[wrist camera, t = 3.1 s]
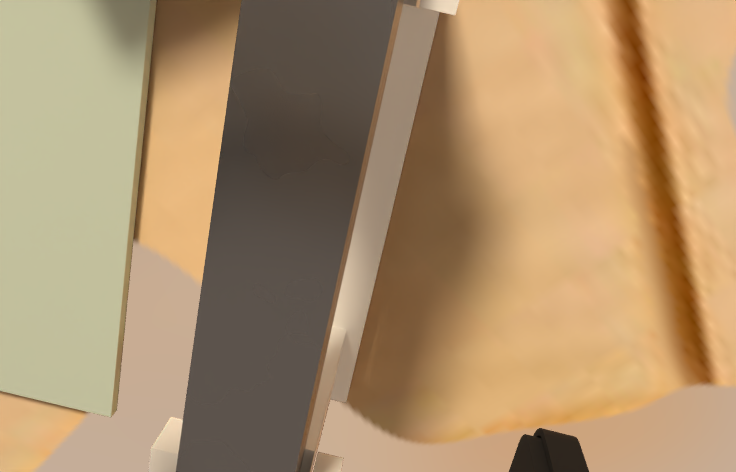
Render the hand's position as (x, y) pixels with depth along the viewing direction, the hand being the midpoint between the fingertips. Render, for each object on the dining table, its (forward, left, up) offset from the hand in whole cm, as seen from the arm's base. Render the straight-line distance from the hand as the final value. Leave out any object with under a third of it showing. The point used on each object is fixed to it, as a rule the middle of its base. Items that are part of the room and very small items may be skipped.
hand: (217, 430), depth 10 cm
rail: (0, 0, -8) cm, 8 cm away
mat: (+2, -13, -17) cm, 22 cm away
